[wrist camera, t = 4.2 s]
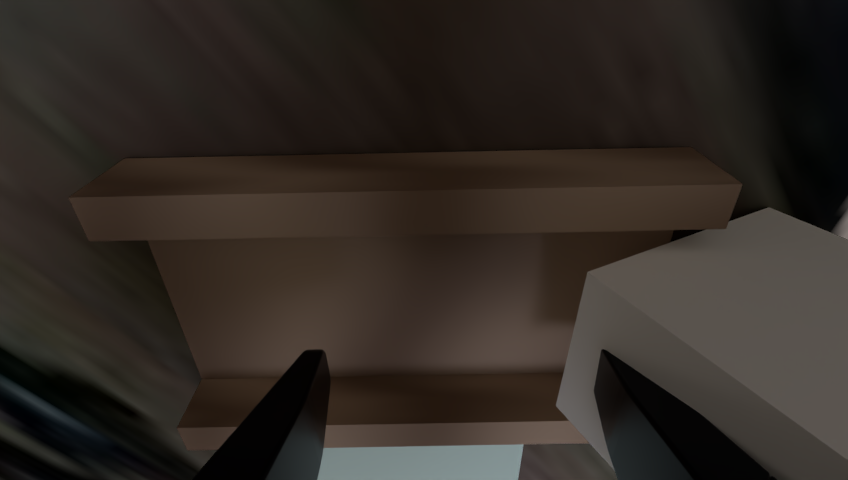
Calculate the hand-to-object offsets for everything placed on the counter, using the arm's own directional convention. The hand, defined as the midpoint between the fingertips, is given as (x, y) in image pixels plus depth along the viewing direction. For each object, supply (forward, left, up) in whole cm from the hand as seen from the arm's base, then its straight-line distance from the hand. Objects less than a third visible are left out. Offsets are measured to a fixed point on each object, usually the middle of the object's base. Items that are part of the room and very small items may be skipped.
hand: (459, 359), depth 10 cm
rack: (-1, -1, -3) cm, 3 cm away
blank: (+5, 0, -2) cm, 5 cm away
